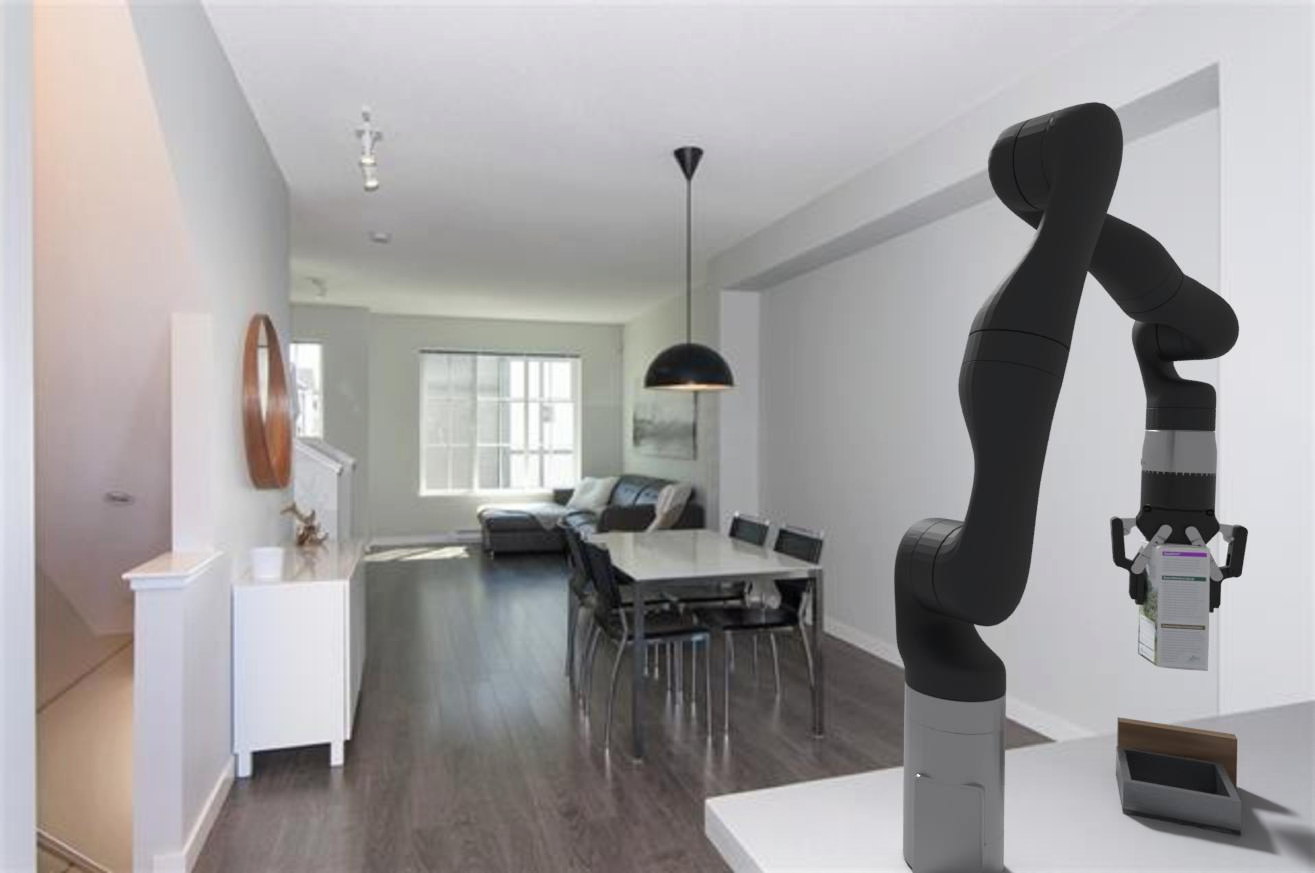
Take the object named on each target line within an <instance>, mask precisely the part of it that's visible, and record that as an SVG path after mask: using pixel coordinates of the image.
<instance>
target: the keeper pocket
mask: <svg viewBox="0 0 1315 873" xmlns="http://www.w3.org/2000/svg"><path fill="white" fill-rule="evenodd" d="M1115 749H1116V750H1115V752H1116V753H1115V756H1116V757H1115V758H1116V759H1115V776H1116V777H1115V778H1116V782H1117V787H1118V788H1117V789H1118V793H1119V798H1120V804H1121V810H1122V813H1123V814H1128V815H1132V816H1137V817H1143V818H1149V819H1154V820H1158V821H1164V822H1168V823H1175V824H1179V825H1185V826H1190V827H1195V828H1199V829H1206V830H1211V831H1216V832H1221V833H1226V834H1231V835H1236V836H1242V801H1241V799H1240V796H1239V795H1238V792H1237V789H1236V790H1235V788H1234V786H1233V784H1232V782H1231V780H1230V778H1229V776H1228V774H1227V772H1226V770H1225V768H1224V766H1223V764H1222V763H1220V762H1213V761H1207V760H1201V759H1195V758H1189V757H1182V756H1176V755H1170V754H1164V753H1158V752H1152V751H1145V750H1139V749H1133V748H1127V747H1121V746H1117V745H1116V747H1115Z"/></svg>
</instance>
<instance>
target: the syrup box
mask: <svg viewBox="0 0 1315 873" xmlns="http://www.w3.org/2000/svg"><path fill="white" fill-rule="evenodd" d="M1145 540H1146V539H1140V541H1139V542H1140V543H1139V546H1140V547H1141V546H1143V547H1144V548H1145V547H1146V546H1147V544H1148V543H1149V542H1148V541H1145ZM1140 547H1139V548H1140ZM1151 550H1152V557H1151V559H1150V561H1149V563H1148V564H1147V566H1146V567H1145V568H1144V570H1143V571H1142V573H1143V574H1144V596H1143V605H1138V627H1137V628H1138V639H1137V640H1138V641H1137V654H1138V655H1139V656H1140V657H1142V658H1144V659H1145V660H1146V661H1148V662H1149V663H1151V664H1153V665H1154V666H1156V667H1158V668H1164V669H1174V670H1183V671H1184V670H1185V671H1187V670H1189V671H1202V672H1207V671H1208V669H1209V646H1210V645H1209V642H1210V640H1209V639H1210V638H1209V636H1210V635H1209V634H1210V613H1209V589H1210V553H1211V548H1210V547H1207V548H1206V547H1201V546H1193V545H1189V544H1173V543H1163V544H1159V545H1154V546H1152V548H1151Z"/></svg>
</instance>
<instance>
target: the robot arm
mask: <svg viewBox="0 0 1315 873" xmlns="http://www.w3.org/2000/svg"><path fill="white" fill-rule="evenodd" d="M1123 135H1124V134H1123V129H1122V124H1121V121H1120V118H1119V117H1118V115H1117V113H1116V112H1115V110H1114V109H1113V108H1112V107H1110V106H1109V105H1107V104H1105V103H1104V102H1103V103H1102V102H1098V101H1097V102H1096V101H1093V102H1085V103H1079V104H1074V105H1071V106H1068V107H1064V108H1061V109H1058V110H1054V111H1052V112H1048V113H1046V114H1042V115H1039V116H1036V117H1032V118H1029V119H1026V120H1022V121H1020V122H1017V123H1015V124H1013V125H1010V126H1008V127H1006V128H1005V129H1003V130H1002V131H1001V132H999V134H998V135H997V136H996V137H995V139H994V140H993V142H992V144H991V147H990V149H989V152H988V159H987V171H988V178H989V181H990V185H991V187H992V189H993V191H994V194H995V195H996V196H997V198H998V199H999V201H1001V203H1002V204H1003V205H1004V206H1005V207H1007V208H1008V210H1009V211H1011V212H1012V213H1013V215H1015V216H1017V217H1018V218H1019V219H1021V220H1022V221H1023V222H1025V223H1026V224H1027V225H1029V226H1030V227H1032V229H1034V230H1035V234H1034V235H1033V237H1032V239H1031V241H1030V243H1029V244H1028V246H1027V247H1026V249H1025V250H1024V251H1023V253H1022V254H1021V255H1020V257H1019V258H1018V259H1017V261H1016V262H1015V263H1014V265H1013V266H1012V267H1010V269H1009V270H1008V271H1007V273H1006V274H1005V275H1004V276H1003V277H1002V279H1001V280H1000V281H999V282H998V283H997V284H996V286H995V288H994V289H993V290H992V291H991V292H990V294H988V296H987V298H986V299H985V300H984V302H983V303H982V305H981V307H980V308H979V310H978V311H977V313H976V314H975V316H974V318H973V321H972V323H971V326H970V330H969V333H968V337H967V341H966V344H965V349H964V353H963V358H962V361H961V366H960V370H959V377H958V384H957V386H958V387H957V388H958V399H959V404H960V407H961V414H962V417H963V419H964V423H965V426H966V429H967V432H968V433H967V434H968V436H969V439H970V443H971V444H970V445H971V449H972V453H973V463H974V465H973V468H974V469H973V471H974V472H973V482H972V486H971V487H972V488H971V491H970V492H971V493H970V496H969V497H970V498H969V503H968V506H967V510H966V514H965V517H964V520H957V519H950V518H944V517H943V518H942V517H929V518H927V517H926V518H923V519H921V520H919V521H917V522H915V523H913V524H912V525H911V526H910V527H909V528H908V529H907V530H906V532H905V533H904V534H903V536H902V538H901V540H900V542H899V544H898V548H897V551H896V555H895V559H894V560H895V561H894V570H893V572H894V573H893V582H894V584H893V586H894V591H893V592H894V612H895V613H894V615H895V617H894V618H895V634H896V635H895V636H896V645H897V646H896V647H897V650H898V653H899V656H900V658H901V661H902V663H903V666H904V709H903V710H904V712H903V786H902V787H903V789H902V790H903V792H902V793H903V796H902V798H903V800H902V802H903V803H902V805H903V806H902V807H903V808H902V855H903V858H904V859H905V862H907V864H908V865H909V866H910V867H911V868H912V869H911V872H912V873H1004V869H1005V868H1004V867H1005V865H1004V864H1005V862H1004V861H1005V858H1004V857H1005V792H1006V791H1005V789H1006V788H1005V786H1006V784H1005V782H1006V776H1005V775H1006V724H1007V719H1006V718H1007V715H1006V714H1007V670H1006V665H1005V664H1004V661H1003V660H1002V658H1001V657H1000V656H999V655H997V653H996V652H994V650H992V649H991V647H990V646H989V645H988V644H987V643H986V642H985V641H984V640H983V639H982V637H981V635H980V634H979V632H978V630H977V628H976V626H979V627H993V626H998V625H999V624H1002V623H1003V622H1005V621H1007V620H1008V619H1009V618H1010V617H1011V616H1012V615H1013V614H1014V612H1015V610H1016V609H1017V608H1018V606H1019V605H1020V603H1021V600H1022V598H1023V596H1024V594H1025V590H1026V588H1027V584H1028V580H1029V574H1030V570H1031V564H1032V557H1033V556H1032V555H1033V549H1034V539H1035V530H1036V524H1037V522H1036V521H1037V512H1038V505H1039V497H1040V488H1041V481H1042V477H1043V471H1044V465H1045V461H1046V457H1047V456H1046V455H1047V451H1048V450H1047V449H1048V445H1049V441H1050V436H1051V431H1052V430H1051V429H1052V425H1053V421H1054V418H1055V417H1054V416H1055V414H1056V413H1055V412H1056V408H1057V403H1058V400H1059V397H1060V393H1061V390H1062V387H1063V382H1064V378H1065V373H1066V371H1067V370H1066V369H1067V366H1068V361H1069V356H1070V352H1071V346H1072V341H1073V335H1074V331H1075V324H1076V320H1077V316H1078V312H1079V307H1080V304H1081V299H1082V295H1083V291H1084V287H1085V283H1086V280H1087V279H1086V278H1087V275H1088V273H1089V274H1091V276H1092V277H1093V278H1094V279H1095V280H1096V282H1098V283H1099V285H1100V286H1101V287H1102V288H1103V289H1104V290H1105V291H1106V293H1107V294H1108V295H1109V296H1110V297H1111V299H1112V300H1113V301H1114V302H1115V304H1116V305H1117V306H1118V307H1119V308H1120V310H1122V312H1123V313H1124V314H1125V315H1126V316H1127V317H1129V318H1130V319H1132V320H1134V322H1133V325H1132V330H1131V342H1132V346H1133V350H1134V354H1135V357H1136V360H1137V363H1138V367H1139V371H1140V374H1141V379H1142V384H1143V389H1144V392H1145V399H1146V406H1145V428H1144V429H1145V433H1144V439H1143V444H1142V450H1141V458H1140V465H1141V473H1140V474H1141V475H1140V476H1141V477H1140V478H1141V479H1140V480H1141V481H1140V502H1139V503H1140V504H1139V505H1140V506H1139V511H1138V513H1137V515H1136V516H1135V517H1119V516H1112V517H1111V518H1110V520H1109V524H1110V538H1111V540H1110V541H1111V552H1112V553H1111V555H1112V561H1113V563H1114V565H1115V566H1116V567H1119V568H1122V569H1124V570H1127V571H1128V574H1129V575H1128V576H1129V577H1128V595H1129V597H1130V598H1131V599H1130V600H1134V603H1135V605H1138V606H1139V605H1143V596H1144V574H1143V573H1142V571H1143V570H1144V568H1145V567H1146V566H1147V564H1148V563H1149V561H1150V559H1151V557H1152V550H1151V548H1152V546H1154V545H1159V544H1163V543H1173V544H1189V545H1193V546H1201V547H1206V548H1208V546H1207V544H1208V543H1209V542H1210V541H1211V540H1212V539H1213V538H1214V537H1215V536H1216V535H1217V534H1218V533H1220V534H1222V539H1223V541H1225V542H1226V543H1228V546H1227V551H1226V559H1225V565H1223V566H1218V564H1217V563H1216V561H1215V558H1214V556H1213V555H1212V553H1211V552H1210V589H1209V614H1210V613H1211V614H1213V613H1214V611H1215V610H1214V609H1219V608H1220V606H1221V600H1222V598H1221V597H1222V584H1223V581H1224V580H1226V579H1227V580H1228V579H1231V578H1232V579H1233V578H1237V579H1238V578H1240V577H1241V576H1242V575H1243V569H1244V563H1245V562H1244V561H1245V554H1246V549H1247V542H1248V535H1249V530H1248V529H1247V528H1246V526H1243V525H1241V524H1226V523H1221V522H1219V521H1218V519H1217V516H1216V498H1217V497H1216V493H1217V469H1218V468H1217V466H1218V465H1217V464H1218V447H1217V442H1216V441H1217V440H1216V426H1217V425H1216V423H1217V420H1216V418H1217V392H1216V388H1215V387H1214V386H1213V384H1210V383H1208V382H1205V381H1199V380H1194V379H1189V378H1183V377H1181V376H1180V375H1179V373H1178V372H1177V370H1176V367H1175V365H1174V364H1175V362H1186V361H1187V362H1189V361H1204V360H1205V361H1209V360H1214V359H1218V358H1220V357H1221V358H1222V356H1225V355H1226V354H1228V353H1229V352H1230V351H1231V350H1232V349H1233V348H1234V346H1235V345H1236V344H1237V342H1238V338H1239V335H1240V324H1239V320H1238V316H1237V314H1236V313H1235V311H1234V309H1233V307H1232V306H1231V305H1230V304H1229V303H1228V301H1227V300H1226V299H1225V298H1223V297H1222V295H1219V294H1218V293H1217V292H1215V291H1213V290H1212V289H1210V288H1209V287H1207V286H1206V285H1204V284H1202V283H1201V282H1200V281H1199V280H1197V279H1194V278H1192V277H1190V276H1189V275H1187V274H1185V273H1184V272H1183V270H1182V269H1181V268H1180V266H1179V265H1178V264H1177V262H1176V260H1175V259H1174V258H1173V257H1172V255H1171V254H1170V253H1169V251H1168V250H1167V249H1166V248H1165V246H1164V245H1163V244H1162V243H1161V242H1160V241H1159V240H1157V238H1156V237H1154V236H1152V235H1151V234H1150V233H1149V232H1147V231H1145V230H1143V229H1142V228H1140V227H1138V226H1137V225H1134V224H1132V223H1130V222H1127V221H1126V220H1123V219H1121V218H1118V217H1116V216H1114V215H1112V214H1109V213H1108V210H1109V208H1110V206H1111V203H1112V199H1113V197H1114V193H1115V190H1116V188H1117V184H1118V180H1119V176H1120V171H1121V169H1122V162H1123V155H1124V154H1123V151H1124V137H1123ZM1134 527H1136V528H1137V529H1138V530H1139V531H1140V533H1141V535H1142V536H1143V537H1144V538H1145V539H1144V540H1145V541H1148V542H1149V543H1148V544H1147V546H1146V547H1145V548H1144V547H1143V546H1141V547H1139V549H1138V551H1137V553H1136V554H1135V555H1134V557H1133V559H1130V558H1128V557H1126V548H1125V536H1128V535H1130V534H1131V531H1132V528H1134Z"/></svg>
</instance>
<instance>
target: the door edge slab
mask: <svg viewBox="0 0 1315 873" xmlns="http://www.w3.org/2000/svg"><path fill="white" fill-rule="evenodd" d="M1116 729H1117V730H1116V732H1117V733H1116V734H1117V736H1116V739H1117V740H1116V741H1117V742H1116V746H1121V747H1127V748H1133V749H1139V750H1145V751H1152V752H1158V753H1164V754H1170V755H1176V756H1182V757H1189V758H1195V759H1201V760H1207V761H1213V762H1220V763H1222V764H1223V766H1224V768H1225V770H1226V772H1227V774H1228V776H1229V778H1230V780H1231V782H1232V784H1233V786H1234V788H1235V790H1236V791H1237V785H1238V784H1237V783H1238V782H1237V779H1238V778H1237V776H1238V738H1237V736H1236V734H1235V733H1226V732H1220V731H1214V730H1207V729H1200V728H1195V727H1193V728H1192V727H1186V726H1179V725H1173V724H1172V725H1171V724H1167V723H1161V722H1160V723H1159V722H1153V721H1145V720H1138V719H1132V718H1126V717H1119V716H1117V728H1116Z"/></svg>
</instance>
